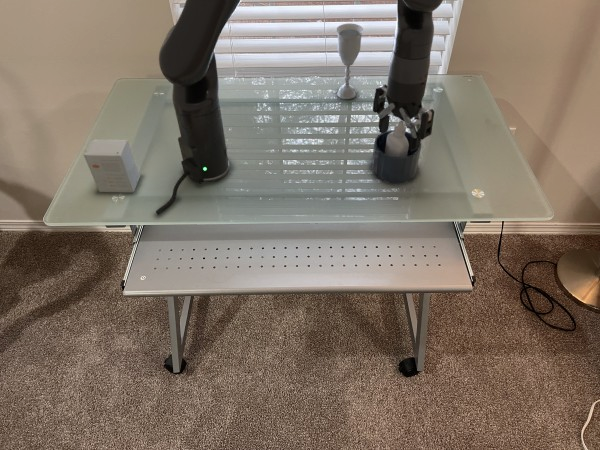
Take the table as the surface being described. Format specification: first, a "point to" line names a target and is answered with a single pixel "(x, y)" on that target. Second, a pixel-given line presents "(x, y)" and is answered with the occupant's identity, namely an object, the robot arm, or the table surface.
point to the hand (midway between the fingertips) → (398, 140)
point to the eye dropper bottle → (397, 142)
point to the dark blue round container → (393, 161)
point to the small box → (112, 165)
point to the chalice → (348, 53)
